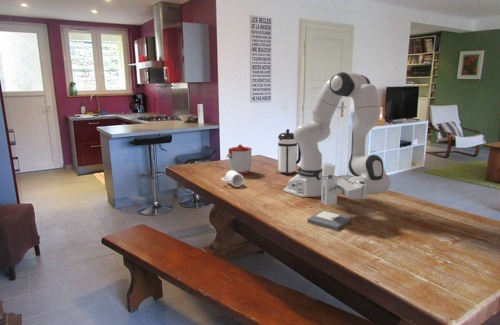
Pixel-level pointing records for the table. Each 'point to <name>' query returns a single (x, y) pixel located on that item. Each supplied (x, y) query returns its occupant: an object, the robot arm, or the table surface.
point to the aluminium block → (326, 195)
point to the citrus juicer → (240, 159)
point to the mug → (233, 178)
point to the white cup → (328, 169)
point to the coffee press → (288, 153)
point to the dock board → (329, 220)
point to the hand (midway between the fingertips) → (327, 189)
